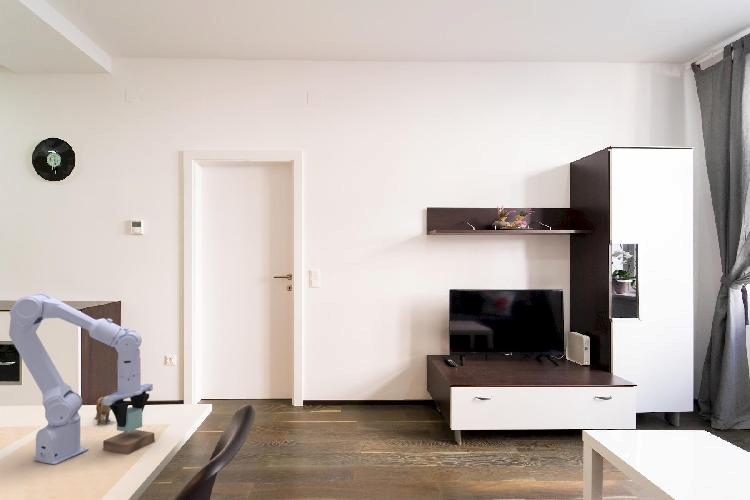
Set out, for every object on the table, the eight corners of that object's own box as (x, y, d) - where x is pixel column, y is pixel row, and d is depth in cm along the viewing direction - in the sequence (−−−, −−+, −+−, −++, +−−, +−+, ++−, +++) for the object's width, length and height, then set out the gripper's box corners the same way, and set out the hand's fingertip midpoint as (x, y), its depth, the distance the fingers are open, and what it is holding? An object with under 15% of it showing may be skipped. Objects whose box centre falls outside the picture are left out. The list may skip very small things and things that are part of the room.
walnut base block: (127, 454, 121) (127, 445, 121) (103, 449, 124) (103, 440, 124) (154, 441, 130) (154, 432, 130) (131, 437, 133) (131, 428, 133)
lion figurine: (118, 423, 144) (118, 395, 144) (99, 428, 141) (99, 399, 141) (106, 412, 155) (106, 386, 155) (88, 416, 151) (88, 389, 151)
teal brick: (128, 432, 124) (128, 414, 124) (116, 430, 126) (116, 412, 126) (142, 426, 128) (142, 408, 128) (130, 424, 130) (130, 407, 130)
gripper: (117, 382, 119) (117, 434, 119) (160, 369, 133) (160, 416, 132) (97, 380, 121) (97, 431, 121) (142, 368, 135) (142, 413, 135)
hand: (129, 423), depth 127 cm, fingers closed on teal brick, 4 cm apart
